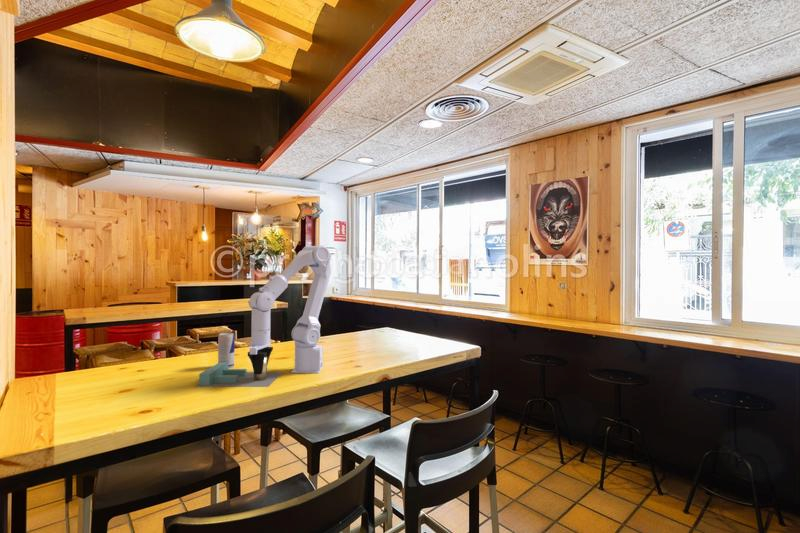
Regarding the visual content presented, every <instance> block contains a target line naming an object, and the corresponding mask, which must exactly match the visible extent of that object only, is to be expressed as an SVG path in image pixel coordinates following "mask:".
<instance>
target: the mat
mask: <svg viewBox="0 0 800 533" xmlns="http://www.w3.org/2000/svg"><path fill="white" fill-rule="evenodd" d="M282 374H283V371H281V372H280V371H276V372H275V371H270V372H269V371H267V379H266V380H262V381H255V380H254V371H246V376H238V382H237V383H212V384H211V385H209V386H199V383H198V384H196V385H194V388H201V387H202V388H203V387H204V388H208V387H209V388H211V387H212V388H217V387H218V388H219V387H220V388H221V387H222V388H224V387H225V388H231V387H232V388H246V387H247V388H248V387H249V388H269V387H270V386H271V385H273V383H274V382H275V381H276V380H277V379H278V378H279V377H280V375H282Z"/></svg>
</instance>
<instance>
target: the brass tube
mask: <svg viewBox="0 0 800 533" xmlns="http://www.w3.org/2000/svg"><path fill="white" fill-rule="evenodd" d="M267 372H268V365H267V356H266V357H265V360H264V364H263V371H262V374H254V380H255V381H262V380H266V379H267Z"/></svg>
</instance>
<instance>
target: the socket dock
mask: <svg viewBox="0 0 800 533" xmlns="http://www.w3.org/2000/svg"><path fill="white" fill-rule="evenodd" d="M246 372H248V371H247V368H228V362H219V363H218V362H217V363H216V364H214V365H213V366H211V367H209V368H207V369H206V370H204V371H202V372H200V373H199V375H198V384H199V386H209V385H211V384H212V383H237V382H238V376H246Z"/></svg>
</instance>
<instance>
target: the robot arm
mask: <svg viewBox="0 0 800 533" xmlns="http://www.w3.org/2000/svg"><path fill="white" fill-rule="evenodd" d="M331 259H332V254H331V252H330V250H329V249H328V248H327V246H325V245H321V244H319V245H312V246H311V245H305V246H304V247H303V248H302V250H300V251H299V252H298V253H297V255H296V256H295V257H294V259H292V261H291V262H289V264H288V265H287V266H286V267H285V269H283V271H282V272H281V273H280V274H274V275H271V276H270V277H269V278H268V281H267V282H266V283H265V284H264V285H263V286H262V287H259V288H258V291H256V292H253V294H251V296H250V299H249V300H247V301H248V303H247V304H248V305H249V307H250V308H251V331H250V332H251V334H250V335H251V337H250V338H251V340H250V341H251V342H248V343H247V347H249V351H248V352H247V357H248V358H249V360H250V362H251V366H252V370H253V372H254V374H262V371H263V364H264V360H265V357H266V356H267V366H268V364H269V359H270V356H271V354H272V352H273V350H274V347H273V346H271V344H272V342H271V341H272V339H271V309H272V308H273V307H274V305H275V301H276V299H278V298H279V296H281V294H283V292H285V290H286V289H287V288H288V287H289V281H290V280H291V279H292V278H293V277H294V276H296V275H297V273H298V272H300V271H301V270H302V269H303V268H304V267H306V266H308V267H310V269H311V270H312V272H313V278H312V282H311V284H310V285H311V286H310V287H309V288H310V289H309V292H308V295H307V299H306V302H305V306H304V310H303V313H302V316H301V317H300V318H299V319H298V320H297V321H296V324H295V326H294V327H293V328H292V330H291V338H292V340H293V341H294V368H293V369H292V370H291V374H320V372H321V371H322V369H323V367H324V366H323V364H324V363H323V358H324V357H323V356H324V352H323V346H322V345H321V344H318V343H319V341H320V339H321V323H320V321H319V316H320V313H321V309H322V305H323V302H324V299H325V296H326V290H327V288H328V283H329V280H330V277H331V273H332V270H331Z"/></svg>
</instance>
